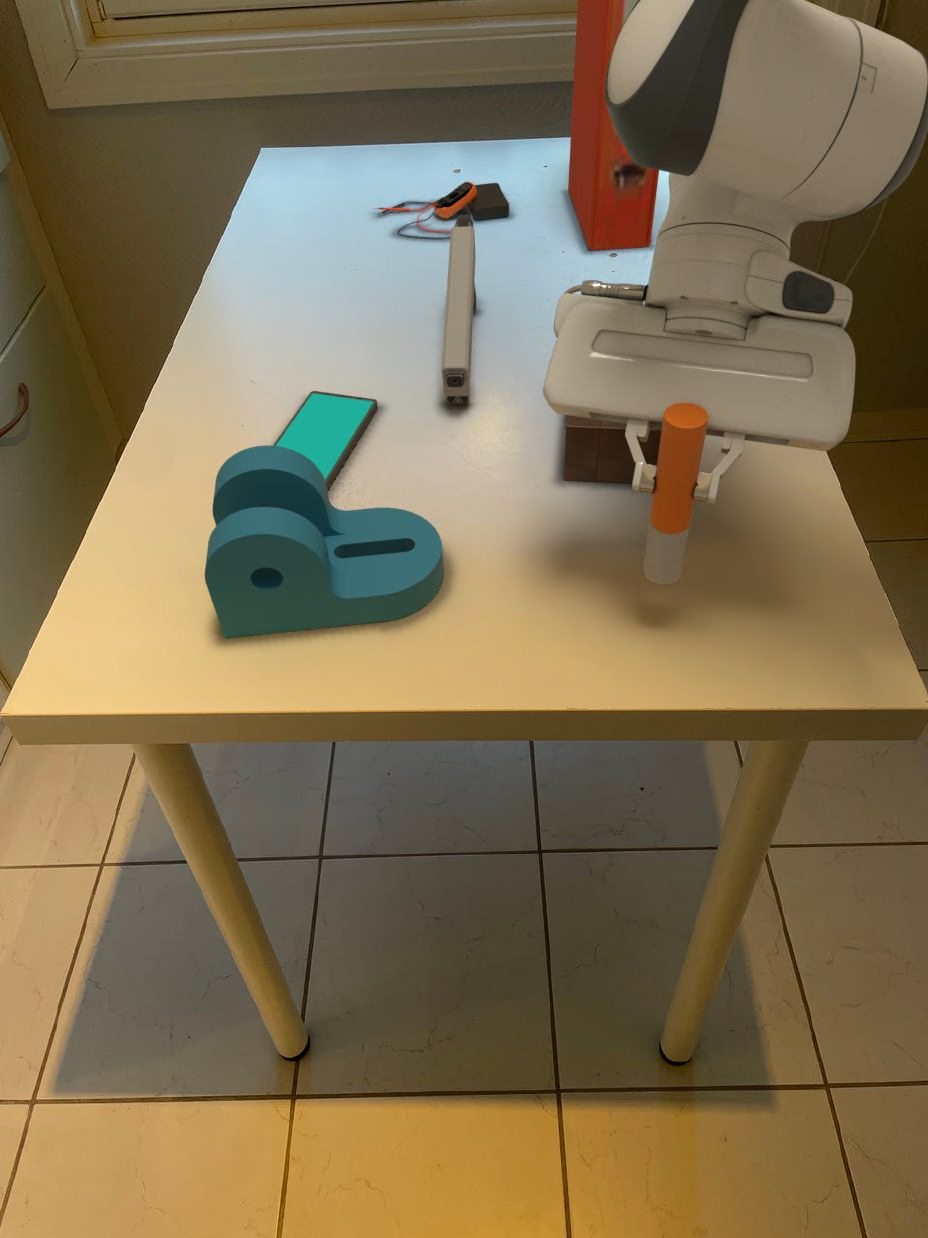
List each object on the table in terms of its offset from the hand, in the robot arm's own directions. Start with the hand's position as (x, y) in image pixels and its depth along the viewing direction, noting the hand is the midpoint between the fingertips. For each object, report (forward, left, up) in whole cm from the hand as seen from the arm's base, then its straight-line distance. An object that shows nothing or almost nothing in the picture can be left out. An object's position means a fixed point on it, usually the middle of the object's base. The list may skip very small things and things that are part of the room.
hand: (673, 496), depth 64 cm
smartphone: (+32, -21, -13) cm, 40 cm away
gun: (+20, -39, -13) cm, 45 cm away
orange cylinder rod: (0, -1, -8) cm, 8 cm away
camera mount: (+26, -3, -13) cm, 29 cm away
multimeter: (+27, -71, -13) cm, 77 cm away
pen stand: (+3, -26, -13) cm, 29 cm away
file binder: (+5, -72, -13) cm, 73 cm away
